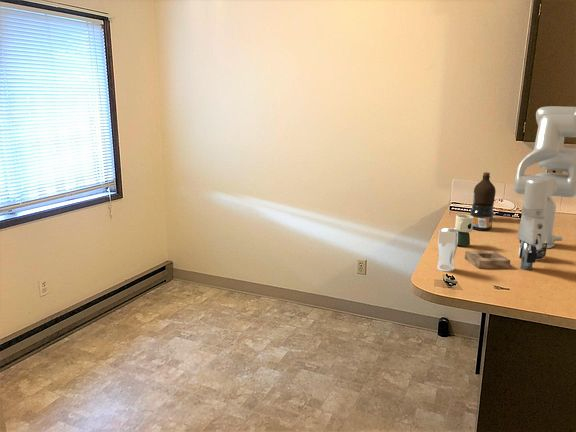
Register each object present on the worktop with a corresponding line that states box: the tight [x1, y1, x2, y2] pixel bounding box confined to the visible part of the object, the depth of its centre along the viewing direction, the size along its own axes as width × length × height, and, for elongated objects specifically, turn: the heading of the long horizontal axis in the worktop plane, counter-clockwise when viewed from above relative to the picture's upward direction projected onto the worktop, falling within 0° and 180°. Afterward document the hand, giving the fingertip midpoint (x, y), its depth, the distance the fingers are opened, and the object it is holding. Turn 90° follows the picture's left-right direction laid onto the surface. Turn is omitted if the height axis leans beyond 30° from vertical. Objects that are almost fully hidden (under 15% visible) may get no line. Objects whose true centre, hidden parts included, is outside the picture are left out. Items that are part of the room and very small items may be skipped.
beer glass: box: [436, 227, 458, 273], centre depth 182 cm, size 7×7×15 cm
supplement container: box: [469, 203, 494, 232], centre depth 243 cm, size 10×10×12 cm
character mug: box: [454, 214, 474, 247], centre depth 213 cm, size 11×7×13 cm, turn 145°
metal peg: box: [519, 242, 535, 271], centre depth 185 cm, size 4×4×10 cm
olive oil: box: [472, 171, 497, 212], centre depth 261 cm, size 11×11×25 cm
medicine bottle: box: [518, 241, 548, 261], centre depth 198 cm, size 7×7×12 cm
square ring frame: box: [464, 250, 511, 269], centre depth 191 cm, size 12×12×3 cm
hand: (527, 260), depth 185 cm, fingers closed on metal peg, 4 cm apart
